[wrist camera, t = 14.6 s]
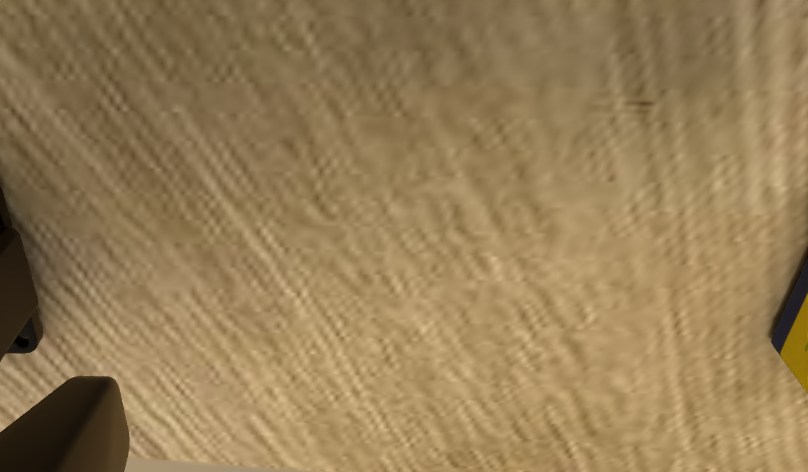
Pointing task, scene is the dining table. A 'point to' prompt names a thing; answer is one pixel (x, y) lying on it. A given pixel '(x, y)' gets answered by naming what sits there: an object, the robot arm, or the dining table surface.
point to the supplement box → (795, 331)
